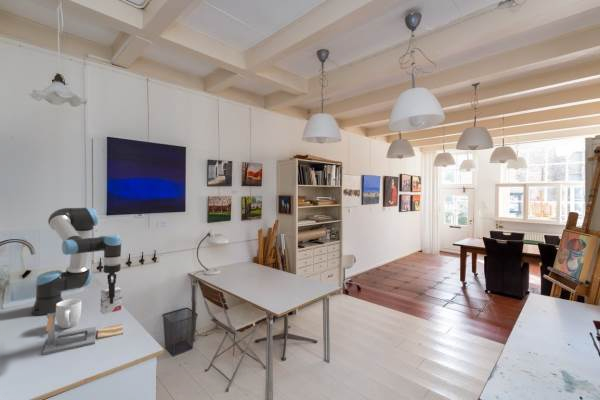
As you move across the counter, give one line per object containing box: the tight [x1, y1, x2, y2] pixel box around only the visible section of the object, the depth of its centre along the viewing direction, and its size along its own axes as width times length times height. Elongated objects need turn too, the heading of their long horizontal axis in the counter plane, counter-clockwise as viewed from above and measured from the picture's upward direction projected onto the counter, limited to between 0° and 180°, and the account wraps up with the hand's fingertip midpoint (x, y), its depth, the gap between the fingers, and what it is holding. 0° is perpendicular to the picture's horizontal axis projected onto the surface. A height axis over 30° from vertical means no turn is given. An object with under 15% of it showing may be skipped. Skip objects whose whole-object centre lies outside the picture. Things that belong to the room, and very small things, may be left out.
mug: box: [55, 298, 82, 329], centre depth 155 cm, size 15×11×13 cm
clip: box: [45, 312, 56, 332], centre depth 131 cm, size 3×19×1 cm, turn 37°
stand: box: [42, 316, 97, 356], centre depth 142 cm, size 18×19×14 cm
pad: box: [97, 324, 124, 340], centre depth 152 cm, size 11×11×1 cm
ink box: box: [99, 286, 123, 315], centre depth 152 cm, size 9×5×12 cm, turn 140°
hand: (111, 307), depth 152 cm, fingers closed on ink box, 6 cm apart
